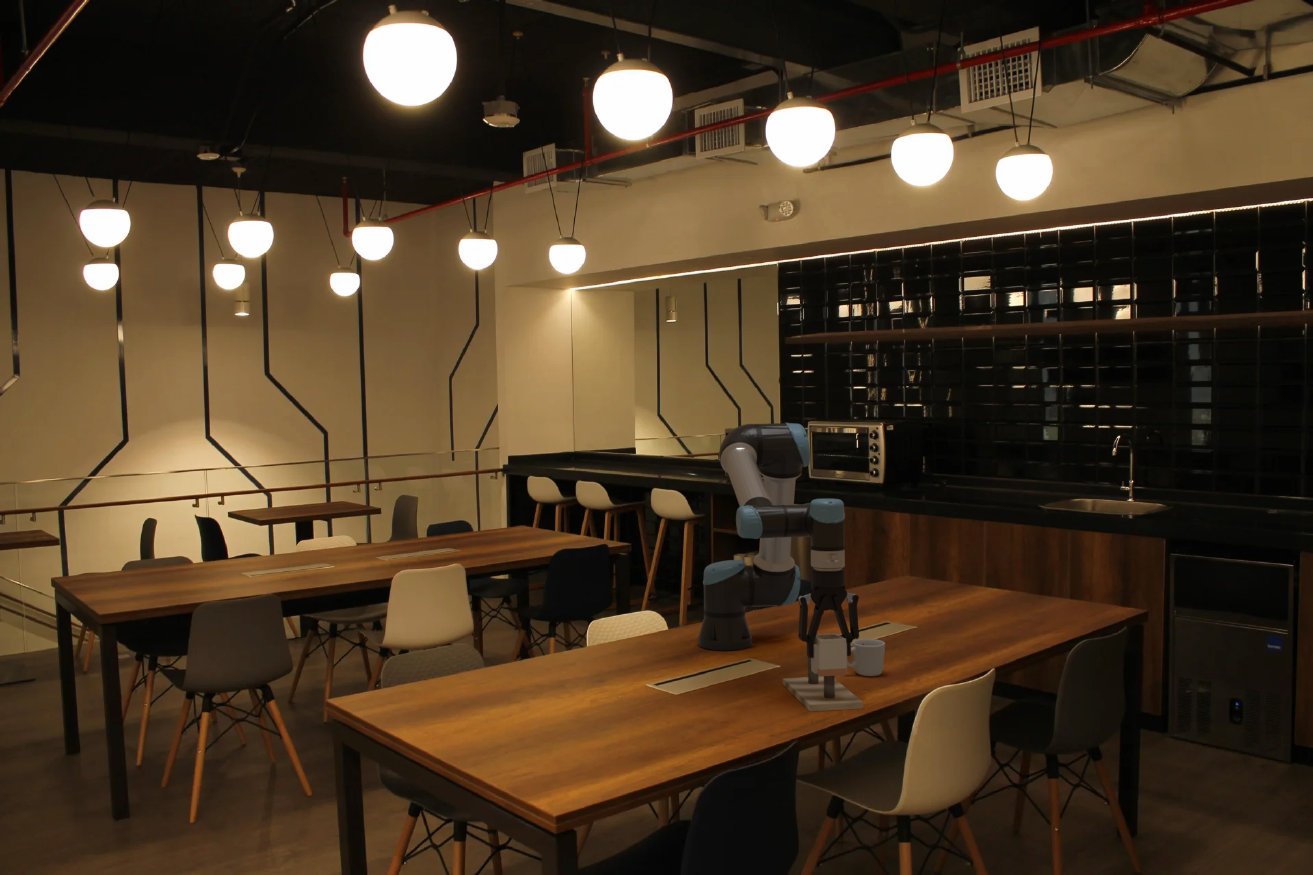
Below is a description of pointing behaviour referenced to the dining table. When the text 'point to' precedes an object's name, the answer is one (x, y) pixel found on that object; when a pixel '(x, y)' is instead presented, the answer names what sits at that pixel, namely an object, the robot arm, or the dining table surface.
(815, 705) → the pin board
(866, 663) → the cup
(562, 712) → the dining table surface
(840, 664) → the sleeve
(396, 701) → the dining table surface
